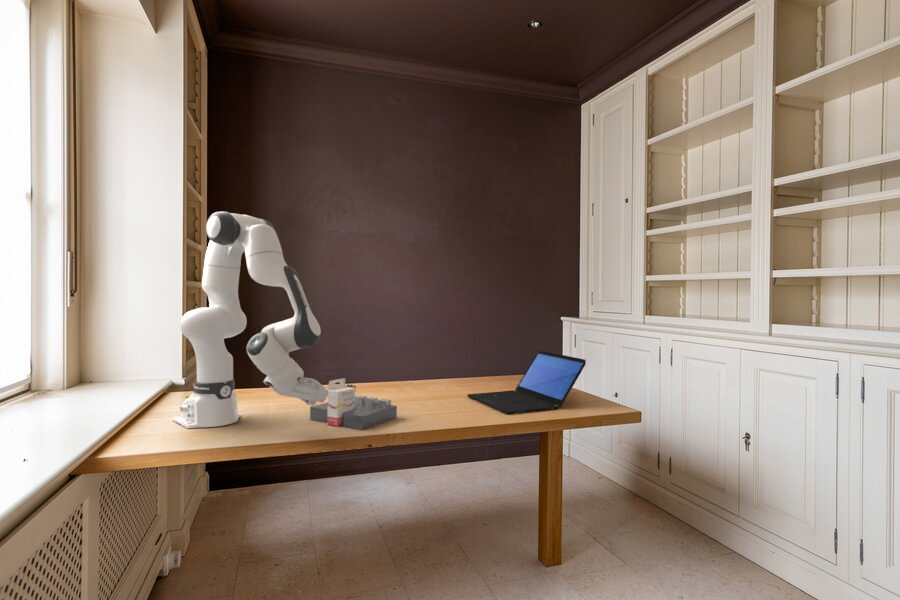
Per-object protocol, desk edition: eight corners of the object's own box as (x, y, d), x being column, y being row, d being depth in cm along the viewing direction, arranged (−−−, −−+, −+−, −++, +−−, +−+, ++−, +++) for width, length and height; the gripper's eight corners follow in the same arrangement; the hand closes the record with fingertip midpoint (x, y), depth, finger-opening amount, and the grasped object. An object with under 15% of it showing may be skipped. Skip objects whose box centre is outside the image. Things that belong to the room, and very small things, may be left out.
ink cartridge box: (337, 427, 159) (338, 382, 159) (326, 424, 162) (327, 381, 162) (355, 421, 167) (355, 378, 167) (344, 419, 169) (344, 377, 169)
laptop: (466, 398, 208) (466, 353, 208) (539, 392, 223) (539, 350, 223) (506, 416, 177) (506, 363, 177) (587, 407, 193) (588, 359, 193)
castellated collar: (310, 419, 168) (310, 401, 168) (346, 409, 184) (346, 392, 183) (362, 430, 156) (362, 410, 156) (396, 418, 171) (396, 400, 171)
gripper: (318, 371, 141) (341, 398, 150) (271, 365, 152) (295, 391, 160) (306, 389, 137) (330, 416, 146) (259, 381, 148) (284, 407, 156)
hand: (312, 403), depth 153 cm, fingers closed
